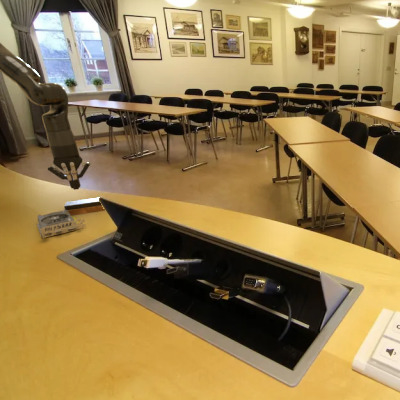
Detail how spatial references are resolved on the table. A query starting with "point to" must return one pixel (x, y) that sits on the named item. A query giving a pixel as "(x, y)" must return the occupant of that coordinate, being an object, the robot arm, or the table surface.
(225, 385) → the table surface
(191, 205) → the table surface
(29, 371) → the table surface
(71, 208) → the brush
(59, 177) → the robot arm
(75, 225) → the graphics card
